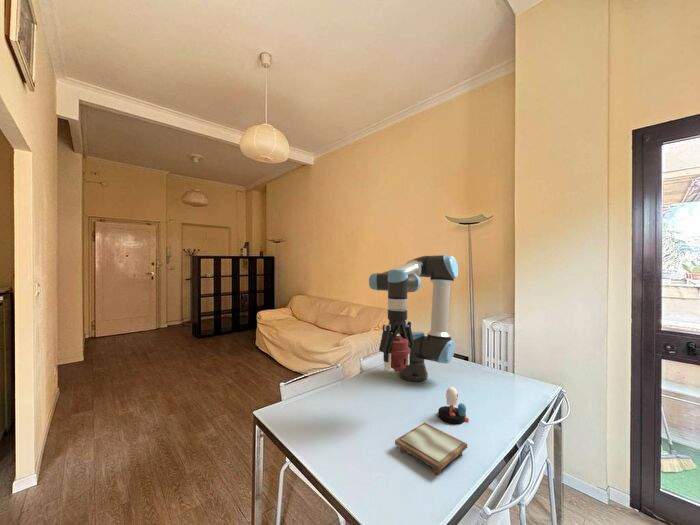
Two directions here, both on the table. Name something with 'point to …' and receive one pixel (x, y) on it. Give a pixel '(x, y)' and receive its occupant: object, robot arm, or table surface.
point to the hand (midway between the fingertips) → (397, 366)
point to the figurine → (452, 409)
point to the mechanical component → (399, 353)
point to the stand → (431, 446)
